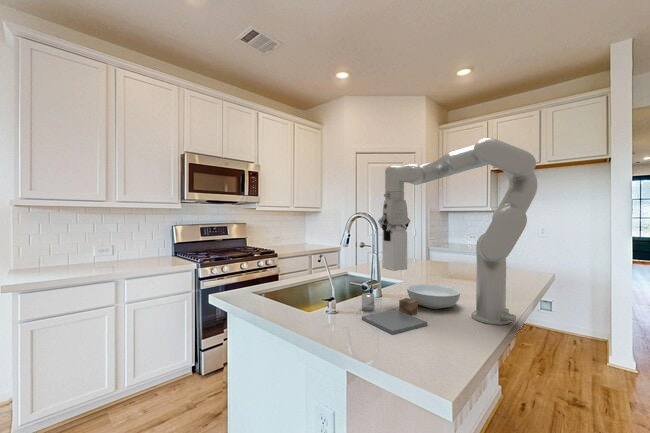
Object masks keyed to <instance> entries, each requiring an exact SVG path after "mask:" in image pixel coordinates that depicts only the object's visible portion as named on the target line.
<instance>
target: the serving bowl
mask: <svg viewBox="0 0 650 433" xmlns="http://www.w3.org/2000/svg"><path fill="white" fill-rule="evenodd" d="M406 291H407V296H408V298H409V299H414V300H418V305H420V306H421V307H425V308H428V309H433V310H434V309H438V310H439V309H445V308H446V309H447V308H450V307H452V306H455V305H456V303H457V302H458V301H459V300H460V297H461V292H460V291H459V289H456V288H454V287H450V286H447V285H441V284H433V283H415V284H410V285H408V286H407V287H406Z"/></svg>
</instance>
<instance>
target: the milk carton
mask: <svg viewBox="0 0 650 433" xmlns="http://www.w3.org/2000/svg"><path fill="white" fill-rule="evenodd" d="M387 226H388V225H387ZM389 231H390V241H384V231H383V230H382V236H381V237H382V239H381V240H382V241H381V242H382V269H385V270H387V271H392V272H396V271H406V270H408V231H407V230H405V229H404V227H403V226H402V225H391V227H390V229H389Z"/></svg>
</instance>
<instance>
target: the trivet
mask: <svg viewBox="0 0 650 433" xmlns="http://www.w3.org/2000/svg"><path fill="white" fill-rule="evenodd" d="M361 320H362V321H364V322H366V323H368V324H370V325H372V326H374V327H376V328H378V329H380V330H382V331H384V332H386V333H389V334H390V335H392V336H393V335H397V334H401V333H404V332H408V331H412V330H415V329H419V328H424V327H427V326H428V324H429V322H428V321H426V320H424V319H421V318H418V317H416V316H414V315H412V316H411V315H408V314H406V313H403V312H401V311H399V310H398V309H391V310H386V311H381V312H375V313H372V314H367V315H362V316H361Z"/></svg>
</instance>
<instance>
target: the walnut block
mask: <svg viewBox="0 0 650 433" xmlns="http://www.w3.org/2000/svg"><path fill="white" fill-rule="evenodd" d="M398 302H399V304H398V305H399V306H398V309H399V310H398V311H401V312H403V313H406V314H408V315H411V316H414V315H416V314H418V307H419V306H418V305H419V304H418V300H414V299H410V297H405V298H402V299H399V300H398Z"/></svg>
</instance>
